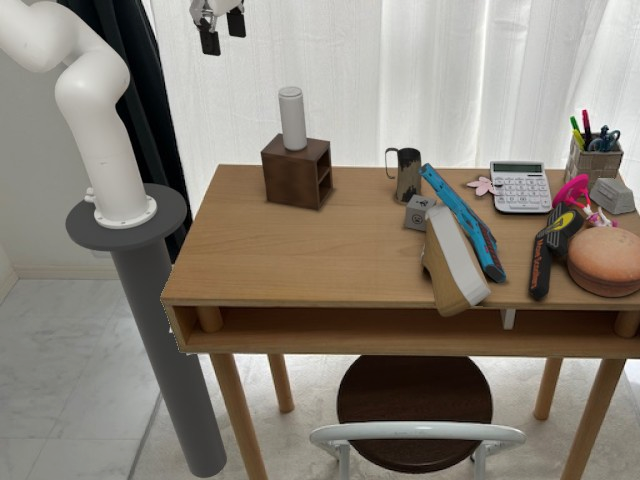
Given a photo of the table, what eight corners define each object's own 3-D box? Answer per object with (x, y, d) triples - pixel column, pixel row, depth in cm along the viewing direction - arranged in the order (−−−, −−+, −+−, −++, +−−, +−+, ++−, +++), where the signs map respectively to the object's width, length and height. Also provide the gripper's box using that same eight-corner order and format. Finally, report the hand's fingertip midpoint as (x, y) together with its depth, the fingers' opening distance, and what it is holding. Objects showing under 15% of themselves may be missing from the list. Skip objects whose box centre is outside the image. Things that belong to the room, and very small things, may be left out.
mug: (420, 191, 140) (422, 142, 132) (421, 204, 136) (423, 155, 128) (385, 191, 140) (385, 142, 132) (385, 204, 136) (385, 155, 128)
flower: (494, 199, 135) (493, 205, 136) (517, 181, 141) (516, 187, 142) (457, 184, 140) (456, 190, 141) (481, 167, 146) (480, 173, 147)
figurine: (557, 186, 127) (607, 237, 120) (592, 166, 129) (643, 215, 123) (547, 215, 135) (593, 263, 129) (580, 195, 138) (627, 242, 132)
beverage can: (281, 143, 131) (275, 87, 123) (304, 139, 132) (299, 84, 124) (287, 153, 127) (280, 97, 120) (309, 149, 129) (304, 93, 121)
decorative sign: (537, 215, 131) (578, 190, 125) (543, 222, 132) (584, 198, 126) (528, 293, 111) (576, 267, 105) (535, 301, 112) (583, 276, 106)
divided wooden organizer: (267, 201, 136) (260, 151, 128) (284, 181, 142) (278, 132, 134) (318, 210, 133) (314, 160, 125) (333, 189, 140) (330, 141, 132)
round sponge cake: (572, 210, 121) (562, 255, 126) (572, 246, 108) (561, 294, 113) (656, 222, 118) (642, 267, 124) (665, 260, 105) (650, 309, 111)
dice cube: (428, 232, 128) (429, 211, 124) (405, 227, 129) (406, 206, 126) (435, 219, 131) (436, 199, 128) (413, 214, 133) (413, 194, 129)
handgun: (498, 289, 116) (488, 242, 127) (510, 281, 114) (500, 235, 126) (420, 211, 104) (417, 167, 116) (432, 201, 103) (428, 158, 115)
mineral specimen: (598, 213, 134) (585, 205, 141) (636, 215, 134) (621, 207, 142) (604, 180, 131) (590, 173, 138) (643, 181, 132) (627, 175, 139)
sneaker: (439, 185, 122) (396, 211, 124) (475, 270, 100) (422, 300, 102) (461, 221, 128) (420, 245, 130) (500, 308, 106) (449, 336, 108)
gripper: (214, -78, 105) (228, 27, 116) (158, -56, 92) (180, 59, 104) (255, -73, 104) (265, 32, 115) (204, -51, 91) (221, 65, 102)
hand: (225, 45), depth 109 cm, fingers open, 9 cm apart
